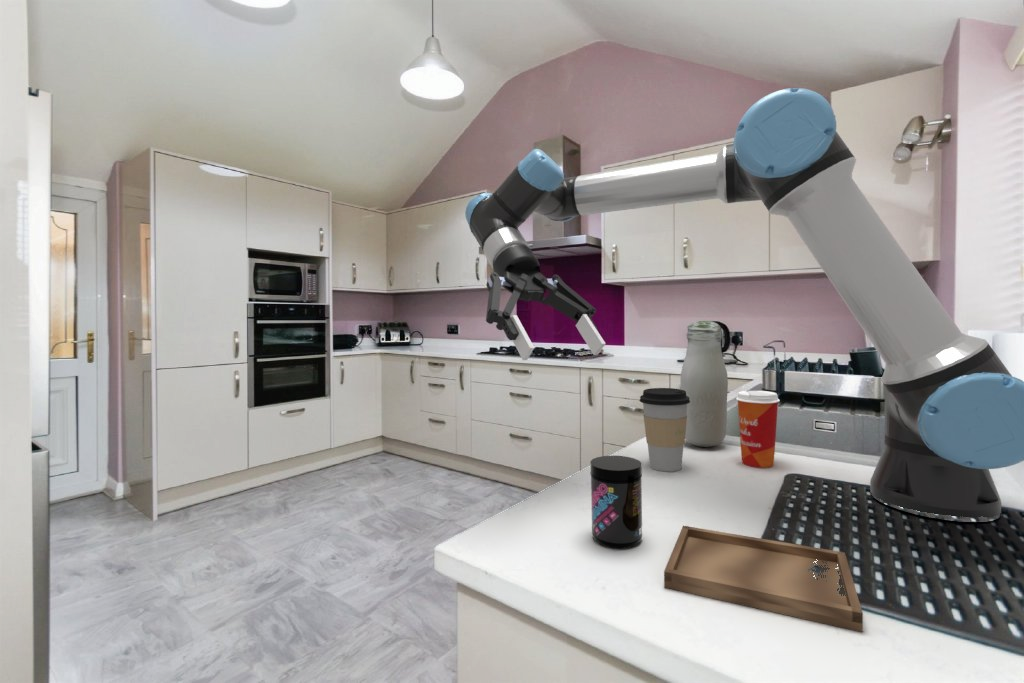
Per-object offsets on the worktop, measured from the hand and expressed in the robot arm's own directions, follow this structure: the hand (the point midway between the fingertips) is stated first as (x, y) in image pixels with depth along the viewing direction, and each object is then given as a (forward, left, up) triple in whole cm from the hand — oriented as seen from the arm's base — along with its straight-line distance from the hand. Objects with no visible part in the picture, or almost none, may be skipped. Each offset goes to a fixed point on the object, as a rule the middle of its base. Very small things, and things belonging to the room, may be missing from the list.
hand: (566, 351), depth 74 cm
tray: (-26, +8, -25) cm, 37 cm away
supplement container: (-9, +5, -25) cm, 27 cm away
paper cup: (-25, -38, -25) cm, 51 cm away
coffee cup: (-9, -29, -25) cm, 39 cm away
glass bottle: (-14, -48, -25) cm, 55 cm away
